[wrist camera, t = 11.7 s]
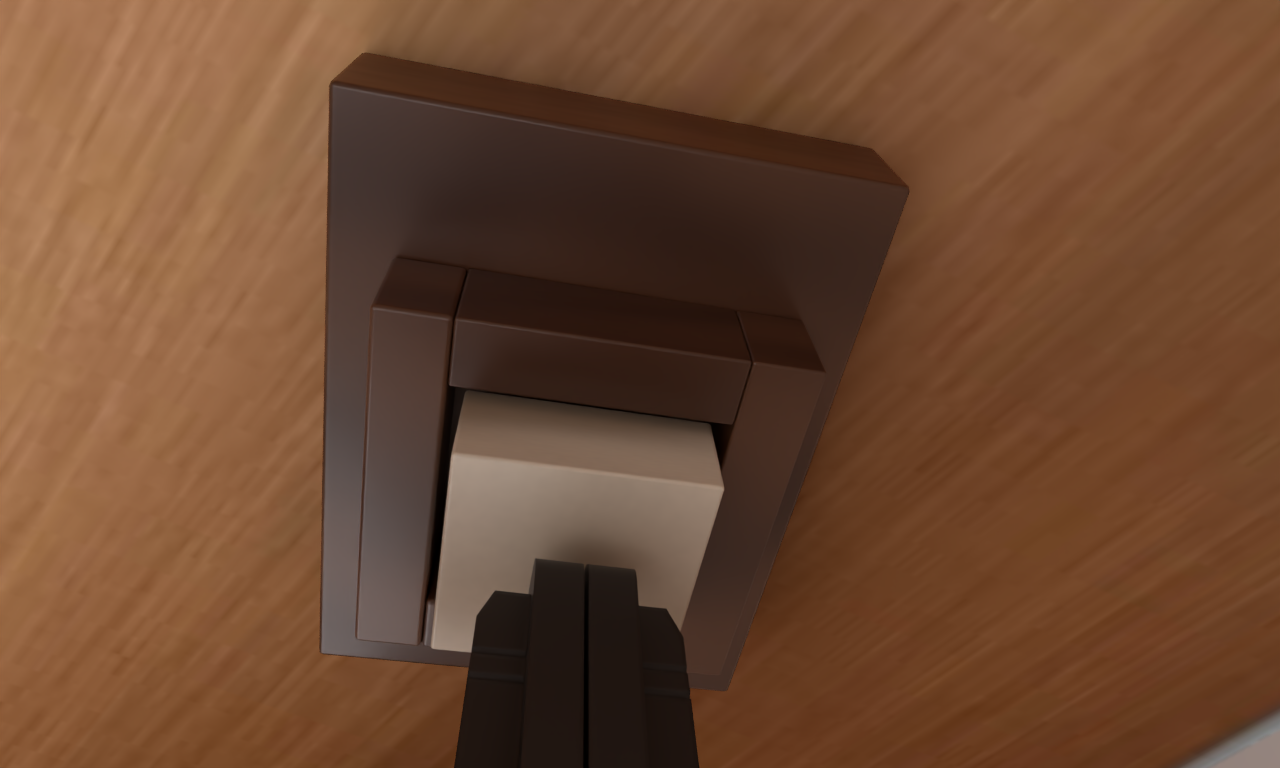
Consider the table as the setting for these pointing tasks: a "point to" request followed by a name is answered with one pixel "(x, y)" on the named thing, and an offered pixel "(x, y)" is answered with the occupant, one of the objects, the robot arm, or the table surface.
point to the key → (571, 503)
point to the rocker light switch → (574, 316)
